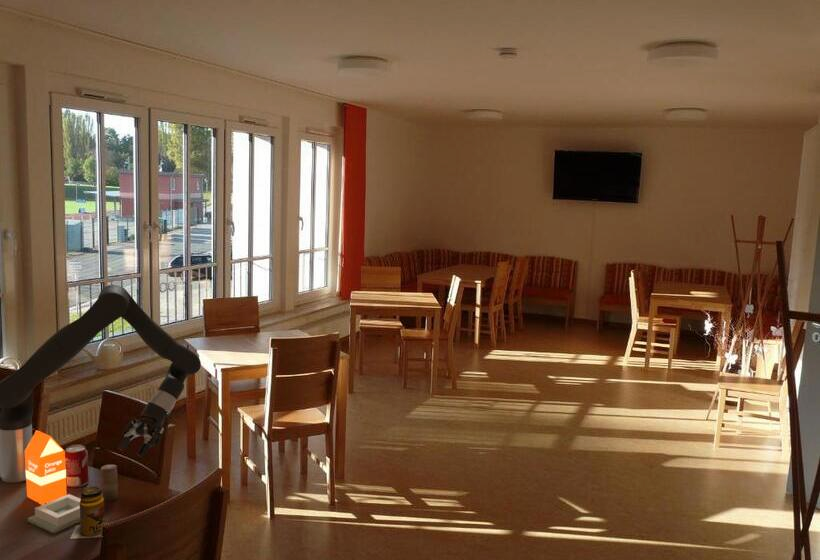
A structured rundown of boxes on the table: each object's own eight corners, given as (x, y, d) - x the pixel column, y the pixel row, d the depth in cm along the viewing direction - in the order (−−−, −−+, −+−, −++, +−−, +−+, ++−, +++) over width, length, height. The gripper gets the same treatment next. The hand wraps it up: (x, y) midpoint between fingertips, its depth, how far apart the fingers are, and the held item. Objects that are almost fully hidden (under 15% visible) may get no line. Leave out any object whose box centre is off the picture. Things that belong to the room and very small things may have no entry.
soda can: (79, 490, 217) (77, 453, 215) (60, 487, 219) (58, 451, 217) (93, 481, 224) (92, 445, 222) (74, 478, 225) (73, 443, 223)
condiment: (103, 536, 190) (101, 495, 189) (69, 539, 189) (67, 497, 187) (108, 523, 198) (107, 483, 196) (76, 526, 196) (74, 485, 194)
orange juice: (52, 487, 218) (48, 426, 215) (67, 496, 213) (64, 433, 210) (26, 496, 212) (22, 433, 209) (41, 505, 207) (38, 440, 204)
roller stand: (27, 521, 197) (27, 509, 197) (73, 502, 209) (72, 491, 209) (53, 533, 191) (52, 521, 191) (99, 513, 203) (98, 501, 203)
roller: (98, 498, 212) (97, 468, 211) (111, 492, 216) (110, 463, 215) (108, 502, 210) (107, 472, 209) (121, 496, 214) (120, 466, 213)
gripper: (137, 397, 227) (107, 442, 219) (167, 405, 220) (137, 452, 212) (151, 409, 232) (122, 453, 224) (181, 417, 225) (152, 463, 217)
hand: (130, 452), depth 218 cm, fingers open, 8 cm apart
